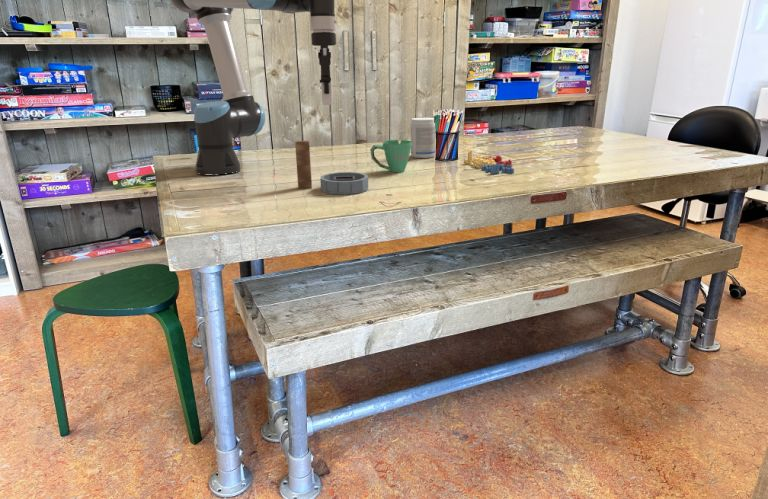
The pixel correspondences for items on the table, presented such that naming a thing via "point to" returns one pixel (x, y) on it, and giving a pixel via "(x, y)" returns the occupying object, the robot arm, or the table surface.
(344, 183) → the grey ridged lid
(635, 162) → the table surface
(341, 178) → the clip
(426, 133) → the supplement tub
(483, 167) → the toy parts cluster
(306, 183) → the brown wooden block
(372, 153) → the mug
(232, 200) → the table surface
